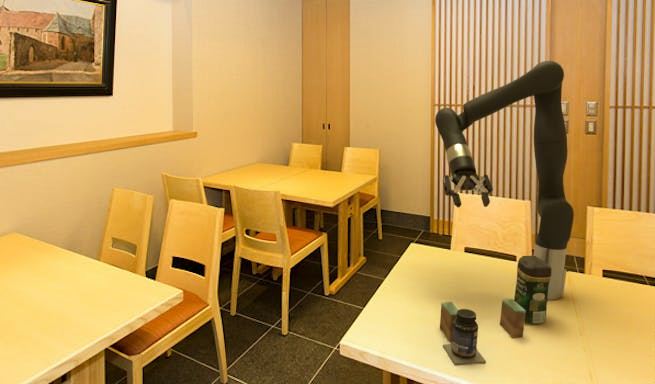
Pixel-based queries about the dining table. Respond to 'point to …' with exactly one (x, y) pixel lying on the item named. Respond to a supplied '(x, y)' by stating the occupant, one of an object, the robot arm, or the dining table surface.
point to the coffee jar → (532, 288)
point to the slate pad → (463, 361)
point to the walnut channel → (509, 319)
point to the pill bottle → (464, 334)
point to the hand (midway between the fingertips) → (473, 205)
